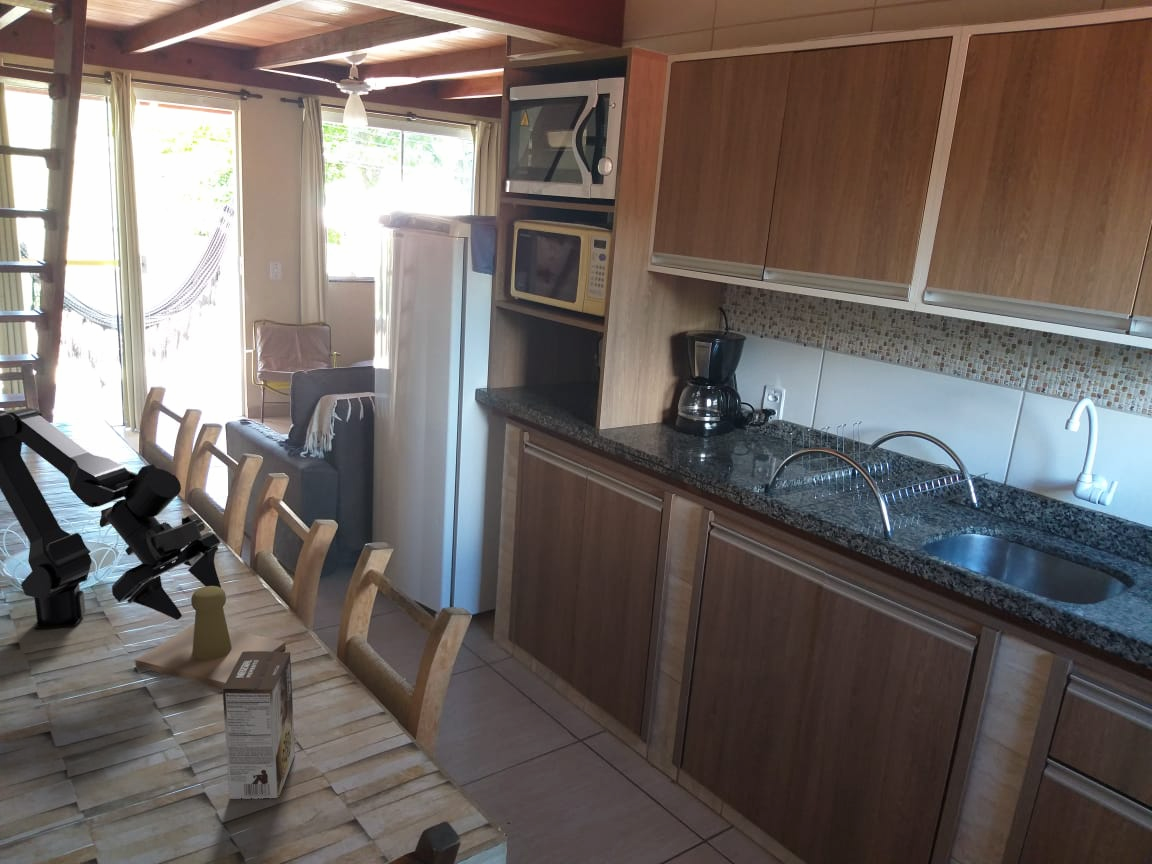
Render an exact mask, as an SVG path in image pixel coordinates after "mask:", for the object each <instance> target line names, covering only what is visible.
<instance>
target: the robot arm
mask: <svg viewBox="0 0 1152 864" xmlns="http://www.w3.org/2000/svg"><path fill="white" fill-rule="evenodd" d="M23 444H24V445H26V446H27V447H28V448H29V449H31V450H32V451H33V452H34V453H35V454H36V455H38V456H40V457H41V458H42V459H43V460H45V461H46V462H47V463H48V464H50V465H51V466H53V467H54V468H55V469H56V470H58V472H60V473H62V474H63V475H64V476H65V477H66V479H67V481H68V484H69V489H70V490H71V491H72V493H74V494H75V496H76V497H77V498H78V499H79V500H80V501H82V503H83V504H84V505H86V506H88V507H90V508H97V507H101V506H104V505H106V504H109V503H112V502H114V501H116V502H115V503H113V505H112V506H110V507H107V508H105V509H102V510H100V514H101V515H100V518H99V527H101V528H104V527H106V526H107V527H108V526H109V525H111V526H112V527H113V528H114V530H115V531H116V533H118V535H119V536H120V537H121V539H122V540H123V541H124V542H125V544H126V545H127V546H128V547H127V548H126V549H125V550H124V552H125V553H126V554H127V555H128V556H131V555H132V554H134V555H135V556H136V558H137V559H138V560H139V561H140V564H139V565H136V566H134V567H133V568H130V569H128V570H126V571H125V572H124V573H122V575H121V576H120V577H119V578H118V579H117V580H116V581H115V582H114V583H113V584H112V585H111V594H112V596H113V597H114V599H116V601H117V602H118V603H122V602H124V601H126V602H127V603H129V604H132V603H135V604H138V605H141V606H144V607H147V608H149V609H152V610H155V612H156V611H157V612H159V613H161V614H162V615H166V616H168V617H170V618H172V619H174V620H177V621H178V620H179V619H181V618H182V616H183V614H182V612H180V609H179V608H178V606H177V605H176V604H175V603H174V601H173V600H172V599H171V596H169V595H168V593H167V592H166V590H165V589H164V588H163V584H162V577H161V575H163V574H165V573H166V572H168V571H171V570H173V569H175V568H177V567H179V566H180V565H182V564H184V565H185V566H189V567H190V568H188V569H187V571H188V572H189V573H190V574H191V575H192V576H193V577H195V578H196V579H197V580H198V581H199V582H200V583H201V584H202V585H203V586H204V587H206V586H217V587H220V588H222V586H221V581H220V579H219V576H218V573H217V570H216V565H215V557H216V553H217V552H218V551H219V545H221V544H222V542H221V540H220V539H219V538H218V536H217V535H216V534H215V533H212V532H206V533H203V534H201V532H203V531H205V529H206V528H205V527H206V526H205V523H204V521H203V520H202V518H201V517H199V515H198V514H197V513H191V514H189V515H187V516H185V517H182V519H181V524H179V525H177V526H174V527H172V525H171V524H170V523H168V522H166V521H165V522H162V523H160V521H159V520H158V519H157V518H156V517H157V516H158V515H159V514H161V513H162V512H163V511H164V510H165V509H166V508H167V507H168V505H170V504H171V503H172V502H173V500H175V499H176V498H177V497H178V495H180V493H181V491H182V487H181V486H182V485H181V482H180V480H179V478H178V477H177V476H176V475H175V474H172V473H171V472H170V471H167V470H165V469H163V468H162V469H161V468H157V467H156V466H155V465H154V463H151V464H148V465H143V466H142V467H141V468H140V469H139V470H138V473H135V472H133V471H129V470H128V469H127V468H126V467H124V466H123V465H121V464H120V463H118V462H116V461H114V460H113V459H111V458H108V457H103V456H99V455H95V454H93V453H90V452H89V451H87V450H86V449H84V448H83V447H82V446H80V445H79V444H78V443H77V442H75V441H74V440H72V438H70V437H69V436H67V435H66V434H65V433H63V432H62V431H61V430H60V429H58V428H57V427H56V426H54V425H53V424H52V423H50V421H48V420H47V419H45V418H44V417H43V415H42V413H41V412H40V411H39V410H38V409H36V408H32V407H26V408H23V409H19V410H14V411H8V412H7V411H5V410H0V491H1V493H2V494H3V496H4V498H5V500H6V502H7V503H8V506H9V507H10V509H11V511H12V512H13V514H14V517H15V518H16V520H17V522H18V523H19V525H20V527H21V529H22V530H23V532H24V534H25V536H26V538H27V539H28V541H29V550H28V551H29V552H28V561H27V562H28V564H29V567H30V570H31V572H30V573H29V574H28V576H26V578H25V579H24V580H23V581H22V582H21V584H20V585H21V586H20V587H21V589H22V591H23V593H24V596H27V597H32V598H33V599H34V606H35V607H34V608H35V615H36V622H35V624H34V626H33V630H45V629H57V628H71V627H76V626H77V625H78V624H79V622H80V621H81V619H82V618H83V616H84V615H85V612H86V605H85V603H86V602H85V593H84V591H83V590H81V589H80V584H81V583H83V582H86V581H87V580H88V577H89V572H90V570H91V565H92V563H93V561H92V557H91V555H90V553H91V550H90V549H89V548H88V547H87V545H86V544H85V542H84V540H83V536H82V535H81V534H79V532H74V533H72V534H71V533H69V532H67V531H65V530H64V529H62V528H61V526H60V524H59V522H58V521H57V519H56V517H55V515H54V514H53V511H52V510H51V508H50V506H49V504H48V503H47V501H46V498H45V497H44V494H42V491H41V489H40V488H39V486H38V484H37V482H36V481H35V479H34V476H33V475H32V474H31V473H32V472H31V471H30V470H29V468H28V466H27V464H26V463H25V460H24V459H23V456H22V454H21V453H22V447H23Z"/></svg>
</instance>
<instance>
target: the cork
mask: <svg viewBox="0 0 1152 864" xmlns="http://www.w3.org/2000/svg"><path fill="white" fill-rule="evenodd" d="M190 601H191V602H190V603H191V606H192V609H193V610H195V616H194V617H195V618H194V624H195V626H194V638H193V650H192V655H193V656H194V657H195V658H197V659H201V660H212V659H217V658H220V657H223V656H225V655H227V654H228V653H229V652H230V651H231V649H232V646H231V641H230V637H229V632H228V629H229V628H228V624H227V619H226V615H225V611H224V606H225V604H226V602H227V593H226V591H225V590H224V589H223V588H222V587H221V588H220V587H217V586H202V587H200V588H198V589H197V590H194V592H193V593H192V595H191V600H190Z"/></svg>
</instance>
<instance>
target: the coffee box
mask: <svg viewBox="0 0 1152 864" xmlns="http://www.w3.org/2000/svg"><path fill="white" fill-rule="evenodd" d="M291 663H292V662H291V652H290V651H281V652H269V651H245V652H242V654H241V655H240V657H239V659H238V661H237V663H236V665H235V666H234V668H233V670H232V672H231V674H230V676H229V677H228V679H227V681H226V683H225V685H224V687H223V689H221V690H222V697H223V698H222V700H223V716H224V717H223V718H224V731H225V732H224V733H225V746H226V747H225V749H226V761H227V762H226V763H227V765H226V766H227V781H228V782H227V783H228V796H229V798H228V799H230V800H262V799H263V798H270V799H269V800H272V799H271V798H277V799H279V798H280V796H279V795H281V793H282V790H283V788H284V785H285V782H286V779H287V778H288V777H287V776H288V774H289V771H290V769H291V766H292V763H293V761H294V757H295V756H296V748H295V746H296V745H295V729H294V707H293V706H294V704H293V703H294V702H293V686H292V685H293V681H292V665H291ZM278 797H279V798H278ZM241 798H242V799H241ZM251 798H252V799H251ZM258 798H259V799H258ZM261 798H262V799H261ZM263 800H264V799H263Z"/></svg>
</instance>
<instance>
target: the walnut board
mask: <svg viewBox="0 0 1152 864" xmlns="http://www.w3.org/2000/svg"><path fill="white" fill-rule="evenodd" d="M194 626H195V623H194V624H192V625H190V626H189V627H186V628H185V629H184V630H182V631H181V632H179V633H177V634H176V635H174V636H172V637H170V638H169V639H167V640H166V641H165V642H163V643H160V644H159V645H157V646H156V647H154V648H153V649H150V650H149V651H148V652H146V653H144V654H142V655H141V656H139V657H138V658H136V659H135V667H137V668H141V669H145V670H149V671H152V672H157V673H159V674H163V675H168V676H171V677H176V678H179V679H184V680H186V681H191V682H194V683H198V684H202V685H206V686H210V687H214V688H217V689H221V690H222V689H223V687H224V685H225V683H226V681H227V679H228V677H229V676H230V674H231V672H232V670H233V668H234V666H235V665H236V663H237V661H238V659H239V657H240V655H241V654H242V652H245V651H269V652H284V650H285V649H287V648H286V647H287V646H286V645H287V644H286V643H287V642H286V641H284V640H279V639H274V638H270V637H266V636H261V635H257V634H253V633H249V632H245V631H241V630H237V629H231V628H228V632H229V637H230V641H231V646H232V649H231V651H230V652H229V653H228V654H227V655H225V656H223V657H220V658H217V659H212V660H201V659H197V658H195V657H194V656H193V655H192V650H193V638H194Z"/></svg>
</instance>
